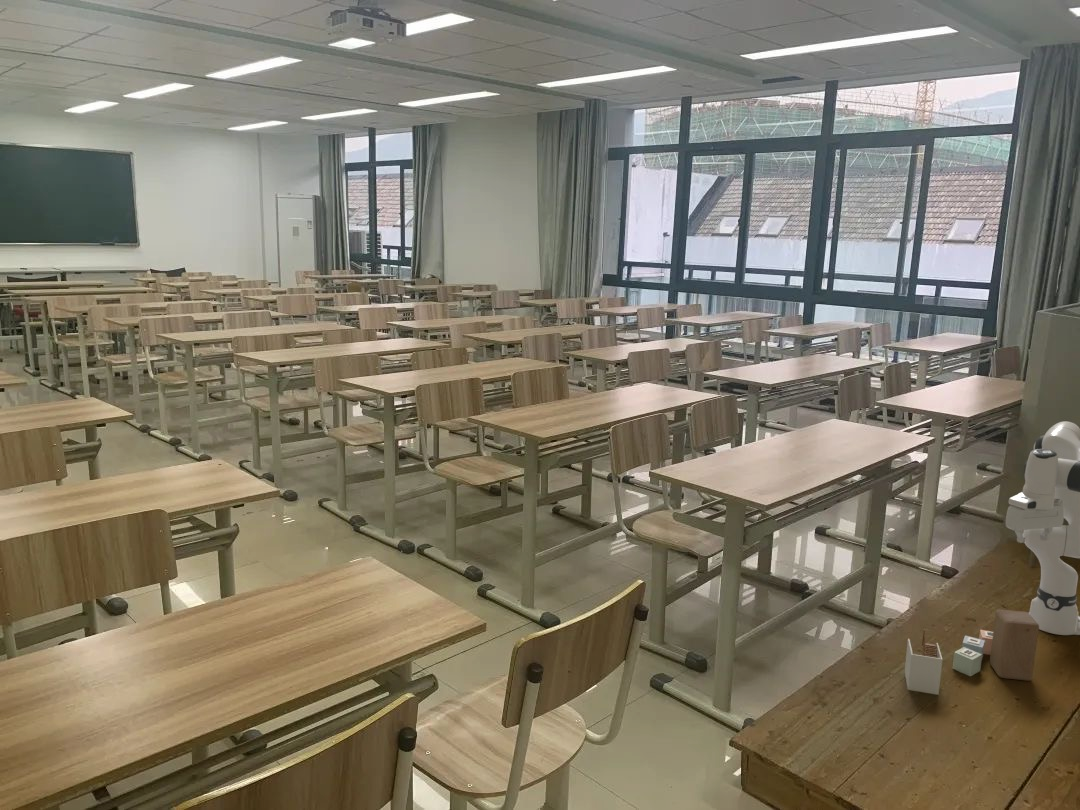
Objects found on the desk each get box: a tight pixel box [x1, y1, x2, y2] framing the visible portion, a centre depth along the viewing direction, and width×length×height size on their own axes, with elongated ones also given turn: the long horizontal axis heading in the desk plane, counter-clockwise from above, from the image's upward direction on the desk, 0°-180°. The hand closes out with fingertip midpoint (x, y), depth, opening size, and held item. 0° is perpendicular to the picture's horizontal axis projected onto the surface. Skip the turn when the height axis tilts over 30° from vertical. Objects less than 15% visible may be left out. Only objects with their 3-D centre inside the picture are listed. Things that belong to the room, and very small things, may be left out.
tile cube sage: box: [952, 647, 983, 677], centre depth 259 cm, size 6×6×6 cm
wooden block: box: [989, 609, 1040, 681], centre depth 257 cm, size 10×10×20 cm
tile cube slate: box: [961, 635, 985, 662], centre depth 267 cm, size 6×6×6 cm
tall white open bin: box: [904, 628, 943, 696], centre depth 250 cm, size 9×11×17 cm
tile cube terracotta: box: [978, 629, 993, 656], centre depth 272 cm, size 6×6×6 cm
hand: (1032, 541), depth 254 cm, fingers open, 8 cm apart
